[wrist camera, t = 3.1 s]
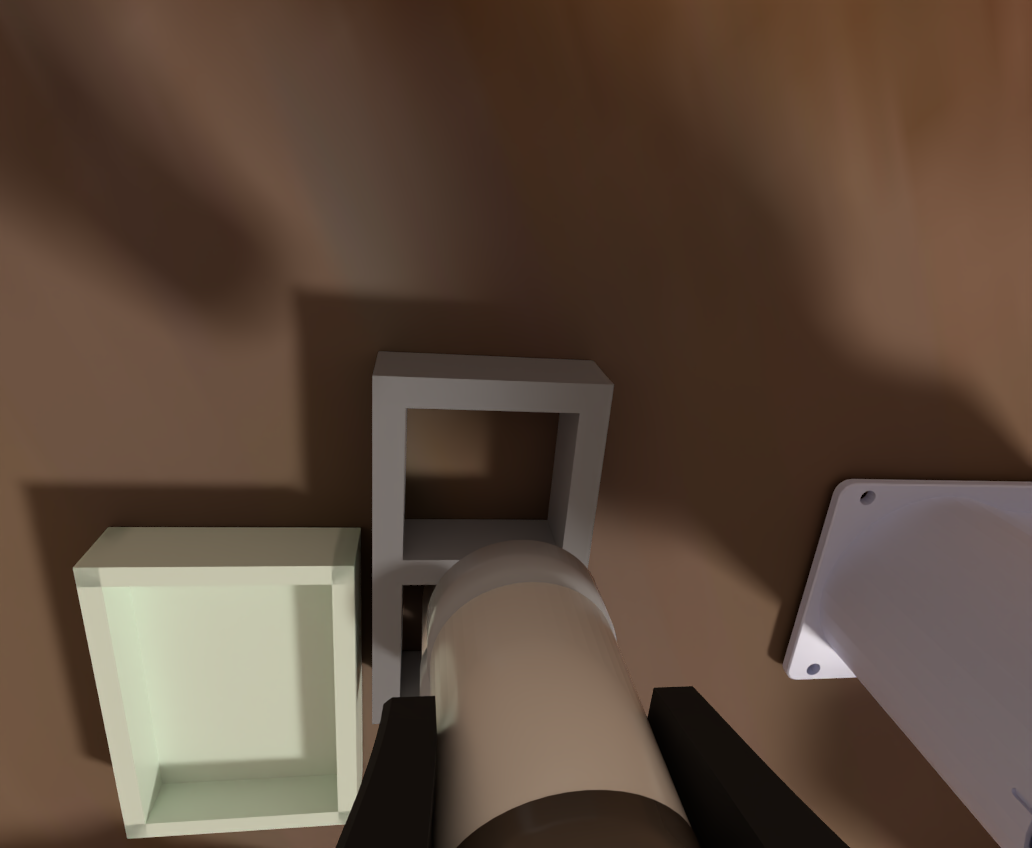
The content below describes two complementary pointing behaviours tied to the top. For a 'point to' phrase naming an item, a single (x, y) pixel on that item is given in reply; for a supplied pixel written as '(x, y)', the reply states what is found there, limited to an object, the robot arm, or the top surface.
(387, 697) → the grey compartment rack
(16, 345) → the top surface
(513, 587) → the cylinder
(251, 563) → the parts tray
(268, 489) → the top surface
